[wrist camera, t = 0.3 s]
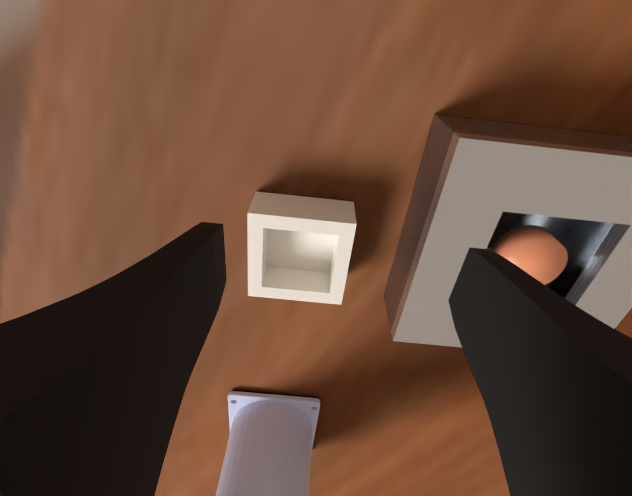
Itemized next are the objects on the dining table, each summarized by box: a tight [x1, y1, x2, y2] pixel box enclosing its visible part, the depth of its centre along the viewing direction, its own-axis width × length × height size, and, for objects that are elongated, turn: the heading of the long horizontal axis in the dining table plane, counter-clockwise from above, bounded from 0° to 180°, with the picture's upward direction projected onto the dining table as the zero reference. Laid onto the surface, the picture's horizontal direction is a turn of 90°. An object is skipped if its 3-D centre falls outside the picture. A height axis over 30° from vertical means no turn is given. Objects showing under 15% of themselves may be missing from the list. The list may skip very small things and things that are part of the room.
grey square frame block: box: [384, 114, 632, 347], centre depth 19 cm, size 12×12×4 cm
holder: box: [248, 191, 357, 305], centre depth 21 cm, size 6×6×3 cm
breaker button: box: [492, 225, 568, 285], centre depth 19 cm, size 3×3×1 cm
